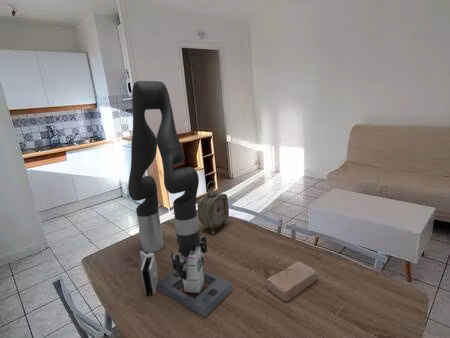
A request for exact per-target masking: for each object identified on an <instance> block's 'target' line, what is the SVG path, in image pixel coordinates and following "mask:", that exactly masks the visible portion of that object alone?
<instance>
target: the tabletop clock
mask: <svg viewBox="0 0 450 338" xmlns="http://www.w3.org/2000/svg"><path fill="white" fill-rule="evenodd" d="M211 183H214V185H213V186H210V188H209V185H210V184H211ZM216 185H217V183H216V181H214V180H211V181H209V182H208V183H207V185H206V190H207V192H206V194H205V195H203V196H202V197H200V198H198V201H197V205H196V207H197V217H198V221H199V223H200V224H201V225H203V226H206V227H209V228H211V231H210V233H211V234H210V235H215V234H216V233H215V231H214V228H218V227H220V226H221V225H224V226H226V225H227V220H228V217H229V209H230V208H229V197H228V195H227V194H226V193H223V192H217V191H216V190H215V187H216Z"/></svg>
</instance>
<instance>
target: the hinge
mask: <svg viewBox="0 0 450 338" xmlns="http://www.w3.org/2000/svg"><path fill="white" fill-rule="evenodd" d="M139 254H140V255H139V256H140V260H141V268H140V274H141V275H140V276H141V280H142V284H143V286H142V287H143V291H144V295H146V297H149V295H150V297H153V295H155V294H156V292H157V287H158V282H159V275H158V274H159V271H158V270H159V269H158V264H157V259H156V257H155V252H150V253H149V252H147V253H146V252H145V251H143V250H140V251H139Z"/></svg>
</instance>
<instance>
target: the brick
mask: <svg viewBox="0 0 450 338" xmlns="http://www.w3.org/2000/svg"><path fill="white" fill-rule="evenodd" d="M316 281H317V272H316V270H315V269H313V267H311V266H308V265H307V264H305V263H304V262H301V261H296V262H294V263H293V264H291V265H289V266H288V267H287V268H286V269H285V270H282V271H280V272H278V273H276V274H273V275H271V276H269V277H267V284H266V285H267V289H268V290H269V291H270V292H271V293H272V294H273V295H275V296H276V297H277V298H278V299H281V300H282V301H283V302H285V303H286V302H288V301H291V300H292V299H293V298H295V297H296V296H297V295H299V294H300V293H301V292H303V291H304V290H305V289H307V288H308V287H309V286H311V285H312V284H314V283H315V282H316Z"/></svg>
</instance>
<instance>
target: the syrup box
mask: <svg viewBox="0 0 450 338" xmlns="http://www.w3.org/2000/svg"><path fill="white" fill-rule="evenodd" d="M200 250H201V248H200V246H199V249H198V250H197V251H196V250H194V251H193V252H192V254H191V255H189V263H188V264H187V265H186V268H185V269H186V274H187V279H186V280H184V279H183V290H184V291H183V292H184V293H192V294H193V293H195V294H201V293H202V290H203V287H204V284H205V282H206V281H205V279H204V272H203V270H204V264H203V263H202V255H201V254H200ZM180 258H181V259H183V260H186V258H185V257H184V256H183V255H180ZM182 266H183V262H182Z"/></svg>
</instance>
